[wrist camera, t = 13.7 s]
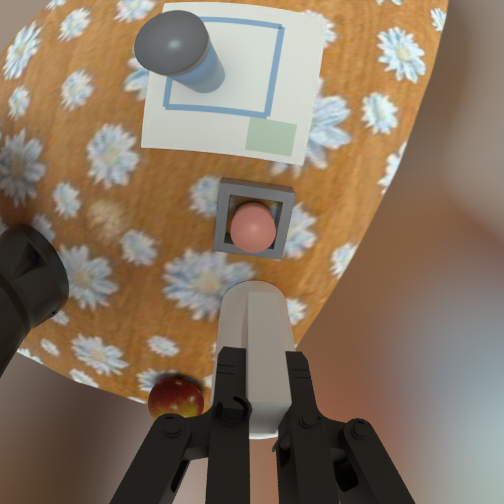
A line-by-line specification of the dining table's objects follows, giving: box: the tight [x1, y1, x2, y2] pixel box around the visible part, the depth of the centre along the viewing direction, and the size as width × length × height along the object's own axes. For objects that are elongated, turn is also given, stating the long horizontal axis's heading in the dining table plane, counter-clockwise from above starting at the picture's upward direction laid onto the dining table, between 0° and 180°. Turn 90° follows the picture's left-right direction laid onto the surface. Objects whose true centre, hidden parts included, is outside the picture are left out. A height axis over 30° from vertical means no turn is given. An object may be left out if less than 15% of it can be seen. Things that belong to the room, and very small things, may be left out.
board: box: [141, 2, 327, 166], centre depth 21 cm, size 16×16×1 cm
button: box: [230, 202, 276, 253], centre depth 25 cm, size 4×4×2 cm
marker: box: [134, 10, 225, 93], centre depth 15 cm, size 4×4×12 cm
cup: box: [210, 280, 296, 439], centre depth 27 cm, size 8×8×16 cm
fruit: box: [148, 378, 204, 420], centre depth 39 cm, size 10×9×8 cm
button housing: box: [213, 178, 296, 259], centre depth 27 cm, size 7×7×2 cm
